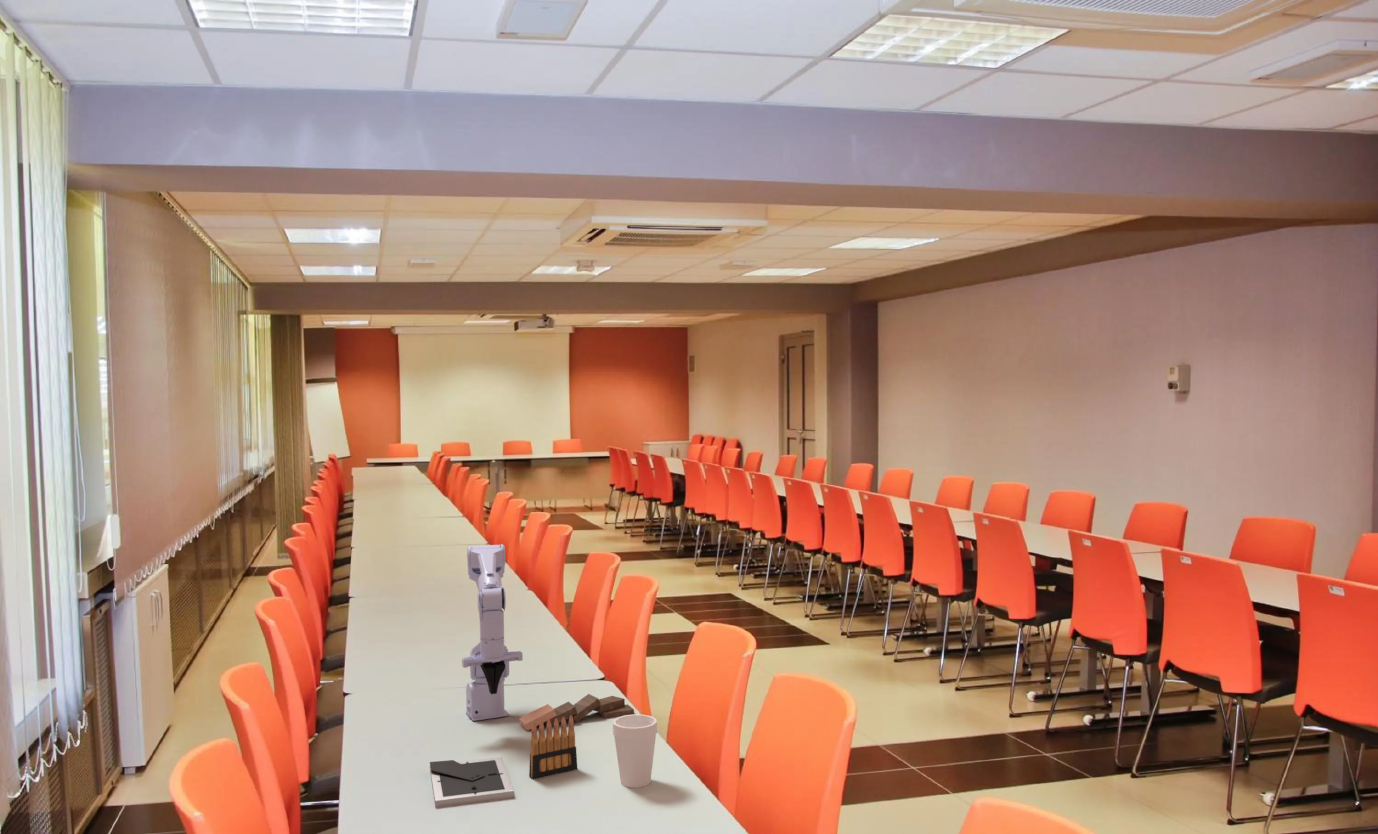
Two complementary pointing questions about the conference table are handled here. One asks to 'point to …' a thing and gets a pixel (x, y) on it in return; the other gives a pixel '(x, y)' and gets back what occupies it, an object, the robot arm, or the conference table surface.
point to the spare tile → (537, 717)
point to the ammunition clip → (552, 749)
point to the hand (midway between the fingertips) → (493, 692)
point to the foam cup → (635, 748)
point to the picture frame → (469, 781)
